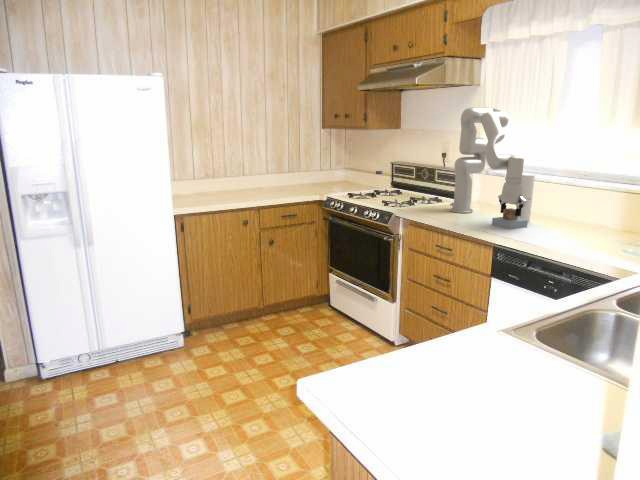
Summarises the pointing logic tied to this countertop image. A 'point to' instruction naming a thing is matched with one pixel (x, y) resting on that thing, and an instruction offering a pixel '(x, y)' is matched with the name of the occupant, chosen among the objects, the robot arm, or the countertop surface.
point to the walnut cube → (509, 214)
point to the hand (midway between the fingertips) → (510, 214)
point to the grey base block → (509, 223)
